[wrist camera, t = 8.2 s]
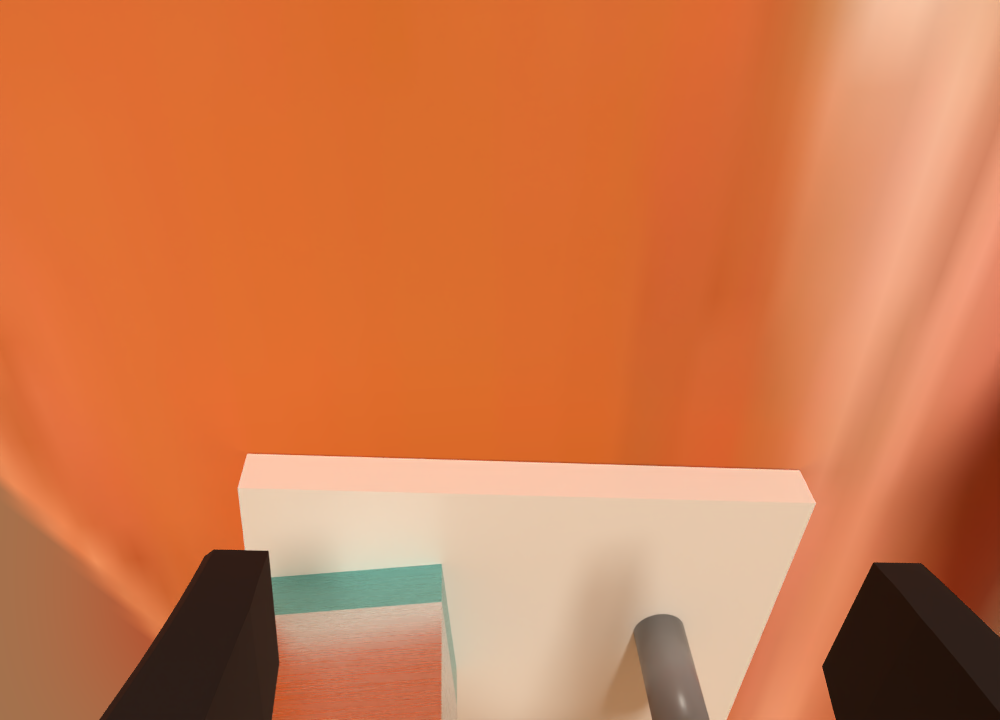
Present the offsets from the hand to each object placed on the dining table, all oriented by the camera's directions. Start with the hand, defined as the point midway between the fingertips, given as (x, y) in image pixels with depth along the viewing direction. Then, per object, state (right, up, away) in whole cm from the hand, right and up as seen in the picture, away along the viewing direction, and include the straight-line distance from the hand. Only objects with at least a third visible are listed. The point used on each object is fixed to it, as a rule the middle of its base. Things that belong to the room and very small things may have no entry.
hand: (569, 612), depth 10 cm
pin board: (-1, -4, +14) cm, 15 cm away
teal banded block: (-4, -4, +13) cm, 14 cm away
